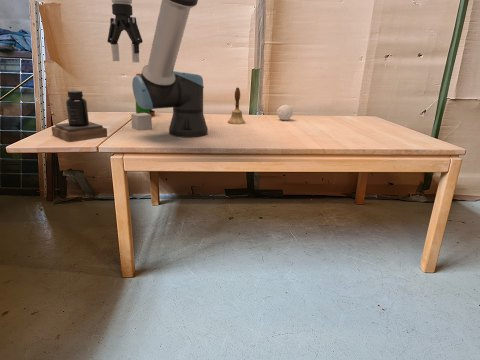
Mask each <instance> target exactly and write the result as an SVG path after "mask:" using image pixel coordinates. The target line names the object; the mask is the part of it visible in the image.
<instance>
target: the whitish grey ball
mask: <svg viewBox="0 0 480 360" xmlns="http://www.w3.org/2000/svg"><path fill="white" fill-rule="evenodd" d="M293 110H294V109H293V107H292V106H291V105H288V104H283V105H282V106H281V105H280V106H279V107H278V109H277V110H276V115H277V118H279V120H281V121H288V120H290V119H291V118H292V116H293V115H294V114H293V113H294V112H293Z"/></svg>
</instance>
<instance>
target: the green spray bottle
mask: <svg viewBox="0 0 480 360" xmlns="http://www.w3.org/2000/svg"><path fill="white" fill-rule="evenodd" d="M137 75H139V76H140V75H141V73H136V74H135V76H137ZM155 112H156V111H155V110H154V109H142V108H141V107H140V106H139V105H138V104H137V102H136V101H135V113H147V114H150V115H151V118H153V117H155V116H156V113H155Z"/></svg>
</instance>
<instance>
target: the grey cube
mask: <svg viewBox="0 0 480 360" xmlns="http://www.w3.org/2000/svg"><path fill="white" fill-rule="evenodd" d="M130 115H131V117H130V118H131V128H132V129H133V130H136V131H147V130H153V125H152V124H153V123H152V122H153V121H152V118H153V117H151V115H150V114H147V113H136V112H134V113H130Z"/></svg>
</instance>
